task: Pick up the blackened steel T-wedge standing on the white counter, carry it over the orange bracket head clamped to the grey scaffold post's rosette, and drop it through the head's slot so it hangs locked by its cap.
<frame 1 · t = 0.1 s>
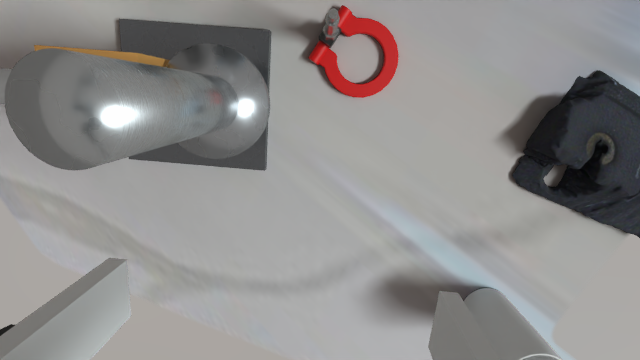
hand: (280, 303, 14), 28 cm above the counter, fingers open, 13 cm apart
dark slate chunk: (610, 164, 40), on the counter
mug: (472, 304, 45), on the counter
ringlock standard: (210, 99, 39), on the counter
bracket head: (174, 96, 39), resting on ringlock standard
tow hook: (356, 57, 38), on the counter
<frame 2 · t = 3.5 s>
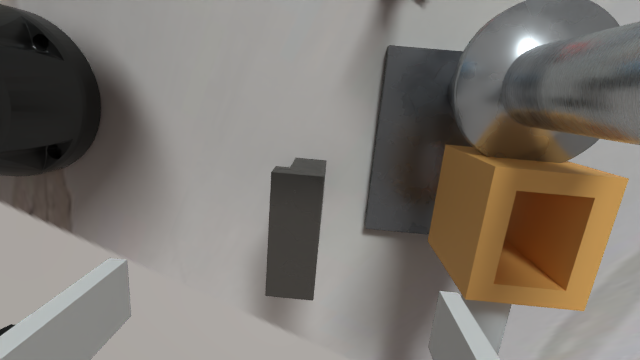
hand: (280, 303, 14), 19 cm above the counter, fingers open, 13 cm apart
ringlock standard: (462, 133, 31), on the counter
bracket head: (453, 179, 32), resting on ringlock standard
wedge: (309, 181, 33), on the counter
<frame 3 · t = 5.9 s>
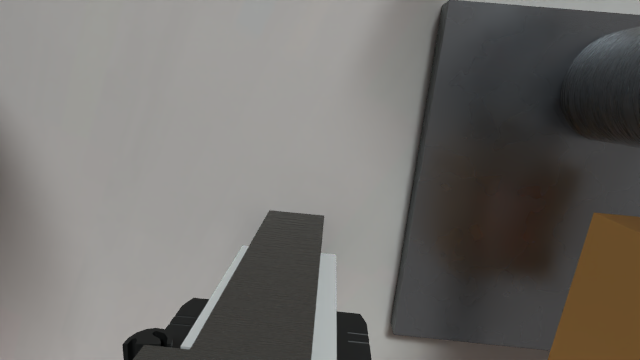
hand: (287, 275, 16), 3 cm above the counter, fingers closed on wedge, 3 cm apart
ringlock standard: (575, 170, 17), on the counter
bracket head: (552, 250, 18), resting on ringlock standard
wedge: (294, 250, 18), on the counter, touching gripper
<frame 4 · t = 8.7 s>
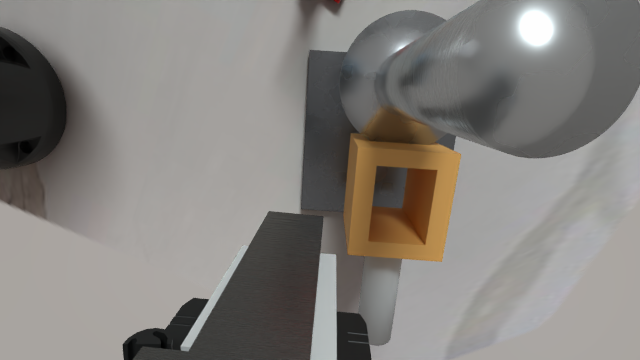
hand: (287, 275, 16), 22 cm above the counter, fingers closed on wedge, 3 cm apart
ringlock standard: (379, 124, 36), on the counter
bracket head: (375, 164, 37), resting on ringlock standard
wedge: (293, 251, 18), point 19 cm above the counter, touching gripper
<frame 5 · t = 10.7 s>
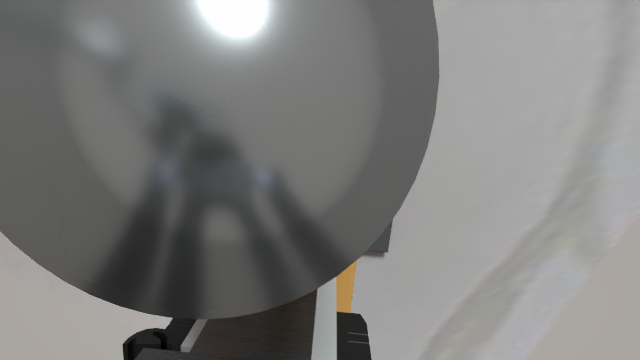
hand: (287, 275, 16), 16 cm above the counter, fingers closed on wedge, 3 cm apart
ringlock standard: (313, 140, 30), on the counter
bracket head: (310, 187, 31), resting on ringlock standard
wedge: (294, 251, 18), point 13 cm above the counter, touching gripper
when the fingers open (16 cm above the counter, at t = 11.7 s): wedge drops 11 cm, resting on bracket head.
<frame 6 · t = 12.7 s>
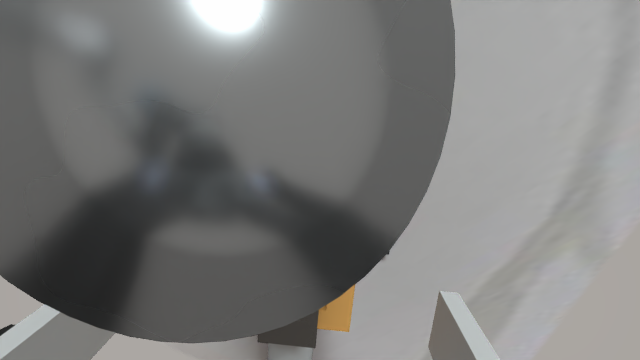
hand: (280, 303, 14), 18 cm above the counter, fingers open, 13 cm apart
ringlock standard: (314, 141, 30), on the counter
bracket head: (310, 188, 31), resting on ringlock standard
wedge: (311, 195, 29), point 2 cm above the counter, touching bracket head
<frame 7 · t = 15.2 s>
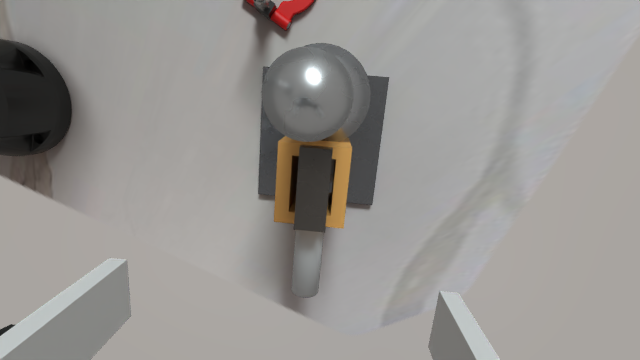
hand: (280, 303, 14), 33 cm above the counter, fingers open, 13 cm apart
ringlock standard: (321, 126, 44), on the counter
bracket head: (318, 159, 45), resting on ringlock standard
wedge: (319, 162, 43), point 2 cm above the counter, touching bracket head
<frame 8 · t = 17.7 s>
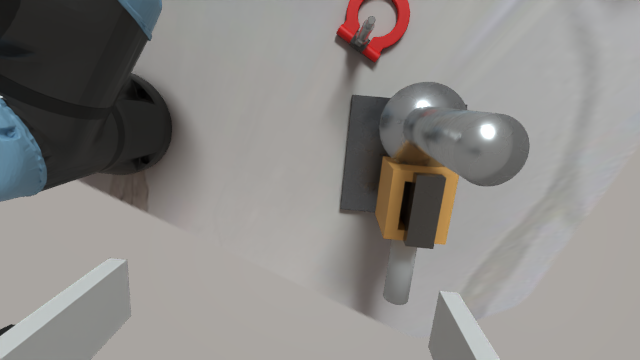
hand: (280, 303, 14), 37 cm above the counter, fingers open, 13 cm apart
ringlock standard: (401, 148, 49), on the counter
bracket head: (396, 177, 50), resting on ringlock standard
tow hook: (374, 20, 45), on the counter
wedge: (400, 181, 48), point 2 cm above the counter, touching bracket head
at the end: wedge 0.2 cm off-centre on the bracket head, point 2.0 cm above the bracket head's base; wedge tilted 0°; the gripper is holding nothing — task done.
